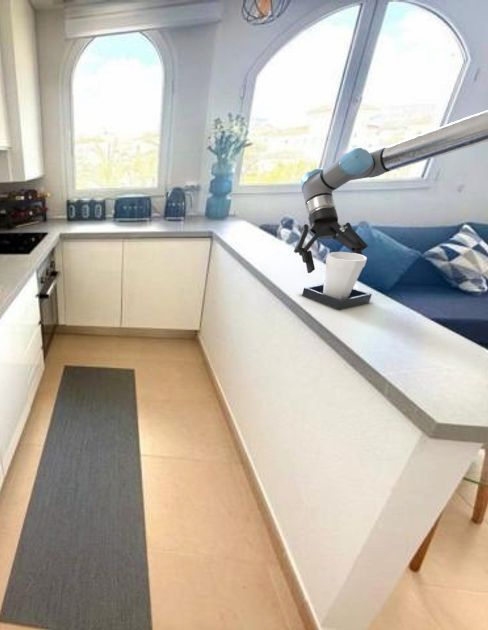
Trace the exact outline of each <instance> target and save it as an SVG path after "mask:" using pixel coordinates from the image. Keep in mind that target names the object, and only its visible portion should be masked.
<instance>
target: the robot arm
mask: <svg viewBox="0 0 488 630" xmlns="http://www.w3.org/2000/svg"><path fill="white" fill-rule="evenodd" d="M486 142H488V109H486V110H485V111H481V112H479V113H475V114H474V115H470V116H467V117H464V118H462V119H460V120H456V121H454V122H450V123H449V124H446V125H443V126H440V127H437V128H435V129H432V130H429V131H427V132H423V133H421V134H418V135H415V136H412V137H410V138H407V139H405V140H402V141H399V142H397V143H394V144H391V145H388V146H386V147H383V148H380V149H377V150H375V151H371V152H369V151H368V150H367V149H365V148H362V147H355V148H353V149H351V150H350V151H348V152H346V153H344V154H343V155H342V156H340V157H339V158H338V159H337V160H336V161H335V160H334V162H333V163H331V164H330V165H328V166H327V167H325V168H315V169H312V170H311V171H308V172H306V173H305V174H303V176H302V177H301V180H300V184H301V192H302V195H303V199H304V203H305V208H306V213H307V216H308V223H309V225H308V223H304V224H303V226H301V228H300V235H299V237H298V240H297V242H296V245H295V246H294V249H293V252H294V253H295V254H297V253H298V255H299V256H301V259H302V262H303V263H304V264H305V266H306V271H307V274H311V273H313V272H314V271H315V269H316V267H315V263H314V258H313V253H312V251H311V250H309V249H310V248H311V247H312V246H313V245H314V243H315V242H316V241H317V240H318V239H320V240H325V239H327V240H334V241H337V242H338V243H340V244H341V245H343V246H344V247H345V248H347V249H348V250H349V251H350V252H351V253H356V254H361V255H363V251H364V250H365V249H367V248H368V246H369V245H368V244H367V243H366V241H364V240H363V238H362V237H361V236H360V235H359V234H358V233H357V231H355V230H354V228H353V227H352V225H351V222H346V223H344V224H340V223H339V217H338V213H337V209H336V204H335V201H334V197H333V192H334V191H335V190H337V189H339V188H340V187H342V186H344V185H345V184H347V183H348V182H350V181H354V180H355V181H357V180H362V179H367V178H370V179H371V178H375V177H380V176H382V175H384V174H385V173H389V172H391V171H395V170H399V169H402V168H404V167H408V166H411V165H414V164H418V163H421V162H424V161H427V160H430V159H433V158H434V159H435V158H437V157H440V156H443V155H446V154H450V153H454V152H457V151H460V150H463V149H466V148H470V147H473V146H476V145H480V144H483V143H486ZM309 232H311V234H313V236H312V237H311V238H310V239H309V241H308V242H307V243H306V244H305V246H304V243H305V241H306V238H307V236H308V233H309ZM303 246H304V247H303Z"/></svg>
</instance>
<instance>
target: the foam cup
mask: <svg viewBox="0 0 488 630" xmlns="http://www.w3.org/2000/svg"><path fill="white" fill-rule="evenodd" d="M367 260H368V258H367V256H366V255H363V254H362V255H361V254H356V253H352V252H348V251H333V252H332V251H331V252H329V253H327V255H326V258H325V270H324V281H323V284H324V288H323V294H326V295H328V296H331V297H334V298H337V299H339V300H342V299H346V298H348V297H349V295H350V293H351V291H352V289H353V288H354V287H355V285H356V283H357V281H358V279H359V277H360V275H361V273H362V271H363V269H364V268H366V267H365V266H366V264H367Z"/></svg>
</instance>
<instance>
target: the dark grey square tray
mask: <svg viewBox="0 0 488 630" xmlns="http://www.w3.org/2000/svg"><path fill="white" fill-rule="evenodd" d="M323 288H324V283H320V284H314V285H309V286H306V287H303V290H302V294H301V296H302V297H305V298H308V299H310V300H312V301H314V302H317V303H320V304H322V305H325V306H327V307H330V308H333V309H335V310H337V311H339V310H344V309H347V308H353V307H357V306H360V305H365V304H368V303H370V301H371V299H372V295H373V294H372V293H369V292H367V291H364V290H360V289H357V288H354V287H353V289H352V291H351V293H350V295H349V297H348V298H346V299H342V300H339V299H337V298H334V297H331V296H328V295H326V294H323Z"/></svg>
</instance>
